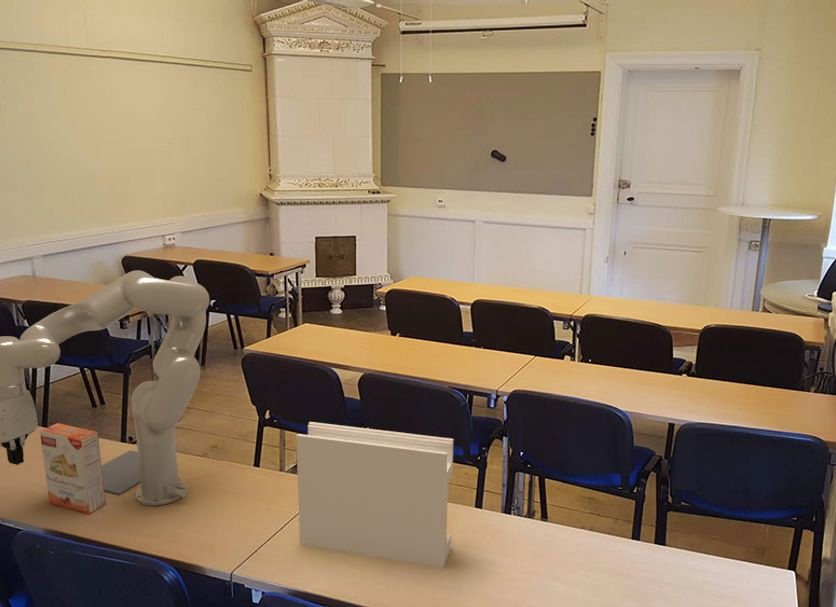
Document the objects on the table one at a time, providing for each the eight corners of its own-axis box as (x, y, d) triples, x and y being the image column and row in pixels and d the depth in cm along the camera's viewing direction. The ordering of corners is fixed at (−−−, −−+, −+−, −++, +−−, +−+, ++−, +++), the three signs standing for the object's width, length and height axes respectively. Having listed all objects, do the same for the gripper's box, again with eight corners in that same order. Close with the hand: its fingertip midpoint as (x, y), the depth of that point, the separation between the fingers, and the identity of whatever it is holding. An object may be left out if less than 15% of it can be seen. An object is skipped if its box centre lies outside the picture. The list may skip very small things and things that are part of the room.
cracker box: (47, 504, 188) (38, 430, 183) (66, 493, 193) (57, 421, 188) (88, 515, 183) (79, 439, 178) (106, 504, 188) (98, 430, 183)
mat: (174, 462, 211) (174, 460, 211) (119, 495, 192) (119, 493, 192) (130, 451, 218) (130, 450, 218) (73, 482, 199) (72, 480, 199)
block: (300, 544, 171) (296, 435, 165) (313, 526, 179) (310, 421, 172) (443, 567, 163) (445, 454, 156) (450, 548, 170) (453, 438, 164)
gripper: (-12, 403, 159) (-2, 479, 163) (46, 382, 172) (54, 453, 176) (-35, 397, 162) (-25, 472, 166) (24, 377, 175) (32, 447, 179)
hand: (16, 462), depth 171 cm, fingers closed
